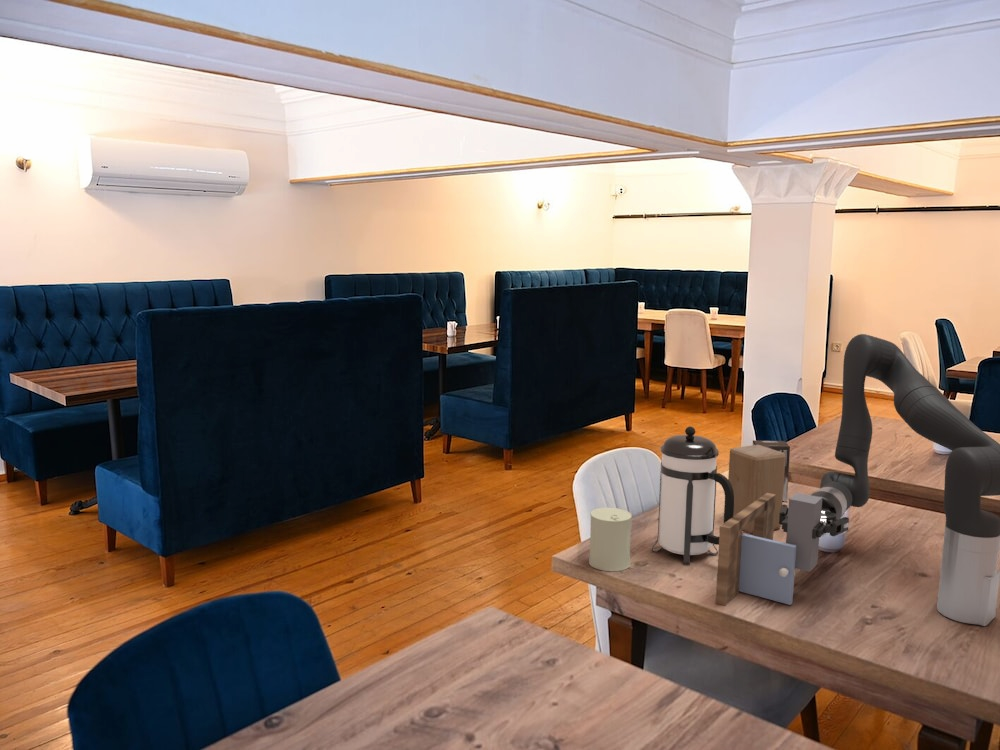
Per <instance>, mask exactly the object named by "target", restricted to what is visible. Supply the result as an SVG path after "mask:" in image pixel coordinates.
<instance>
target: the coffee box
mask: <svg viewBox="0 0 1000 750" xmlns="http://www.w3.org/2000/svg"><path fill="white" fill-rule="evenodd" d="M752 445H761V446H764V447H767V448H770V449H773V450H777V451H780V452H783V453H784V454H785V456H786V457H785V472H784V486H783V501H784V502H785V503H786V502H788V494H789V493H788V491H789V475H790V454H791V446H790V445H789V443H787V442H786V441H785V440H752Z"/></svg>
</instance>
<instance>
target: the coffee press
mask: <svg viewBox="0 0 1000 750" xmlns="http://www.w3.org/2000/svg"><path fill="white" fill-rule="evenodd" d="M684 432H685V434H678V435H673V436H670V437H668V438H667V439H665V440H664V442H663V444H662V445H661V446H660V453H661V462H660V473H659V474H660V475H659V491H660V493H659V499H658V500H659V501H658V515H659V516H658V517H657V518H658V523H657V538H656V540H655V542H654V543H653V544H652V546H651V549H652V551H653V552H654V553H658V552H659V551H661V550H662V549H664V550H666V551H667V552H670V553H673V554H677V555H682V556H683V557H682V558H683V565H691V556H698V555H702V554H705V553H707V552H708V553H709V554H710V555H711V556H713V557H716V556H718V551H719V550H718V549H717V547H716V545H718V546H719V536H717V535H715V534H714V530H715V511H716V498H717V497H716V496H717V495H716V494H717V483H718V484H719V485H720V486H721V487H722V489H723V493H724V506H723V507H724V509H723V524H724V523H725V522H726V521H728V520H729V519H731V518H732V517H733V513H734V492H733V488H732V485H731V483H730V481H729V480H728V478H727V477H726V476H725V475H723V474H722V473H719V472H718V466H717V458H718V456H719V453H720V451H719V449H718V448H717V446H716V444H715V442H714V441H712V440H711V439H709V438H707V437H704V436H701V435H695V434H696V430H695V428H694V427H693V426H688V427H686V428H685V430H684ZM658 543H659V545H660V546H659V547H658V548H655V546H656V545H657V544H658ZM712 546H713V548H714V549H715V551H716V552H712V551H711V550H710V549H711V548H712Z"/></svg>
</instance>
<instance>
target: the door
mask: <svg viewBox="0 0 1000 750" xmlns="http://www.w3.org/2000/svg"><path fill="white" fill-rule="evenodd" d="M795 559H796V545H792V544H788V543H786V542H783V541H778V540H775V539H773V540H770V539H766V538H761V537H757V536H754V535H753V534H749V533H748V534H747V533H743V532H742V542H741V558H740V575H739V592H741V593H745V594H748V595H752V596H755V597H760V598H763V599H767V600H771V601H774V602H778V603H781V604H785V605H788V606H791V605H792V604H793V600H794V597H793V596H794V586H795V574H796V573H795V571H796V568H795Z"/></svg>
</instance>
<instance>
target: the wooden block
mask: <svg viewBox="0 0 1000 750" xmlns="http://www.w3.org/2000/svg"><path fill="white" fill-rule="evenodd" d="M785 457H786V456H785V454H784V453H783V452H780V451H777V450H773V449H770V448H767V447H764V446H761V445H753V444H751V445H745V446H737V447H732V448H730V450H729V458H728V459H729V461H728V478H727V479H728V480H729V481H730V483H731V485H732V488H733V492H734V513H733V517H734V516H735V515H736V514H738V513H739V512H741V511H742V510H743V509H745V508H746V507H748V506H749V505H750V504H752V503H753V502H755V501H756V500H758V499H759V498H760V497H762V496H763V495H765V494H766V493H770V494H775V495H776V500H775V515H774V530H779V529H781V528H782V525H781V524H779V514H780V509H781V505H783V502H782V501H783V486H784V472H785ZM754 523H755V519H754V520H753V521H751V522H750V523H749V524H747V525H746V526H745V527H743V528H742V531H745V532H747V533H748V534H750V535H754ZM774 530H773V531H774Z"/></svg>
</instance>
